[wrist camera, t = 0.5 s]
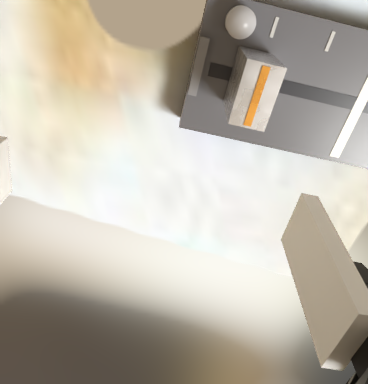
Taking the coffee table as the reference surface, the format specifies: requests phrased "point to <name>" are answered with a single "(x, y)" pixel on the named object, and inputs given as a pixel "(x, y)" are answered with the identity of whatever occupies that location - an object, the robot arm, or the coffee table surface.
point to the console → (285, 80)
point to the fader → (253, 88)
